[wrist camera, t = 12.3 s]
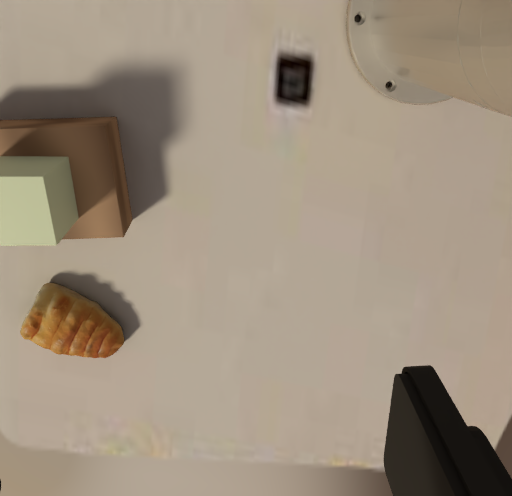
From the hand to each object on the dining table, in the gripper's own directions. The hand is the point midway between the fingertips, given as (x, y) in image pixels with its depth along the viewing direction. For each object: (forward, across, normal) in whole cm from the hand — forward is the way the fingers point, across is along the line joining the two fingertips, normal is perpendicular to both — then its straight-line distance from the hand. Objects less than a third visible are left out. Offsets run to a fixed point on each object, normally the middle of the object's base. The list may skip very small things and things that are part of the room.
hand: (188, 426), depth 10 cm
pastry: (+31, +16, +17) cm, 39 cm away
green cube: (+27, +14, +3) cm, 30 cm away
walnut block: (+31, +14, +3) cm, 34 cm away
